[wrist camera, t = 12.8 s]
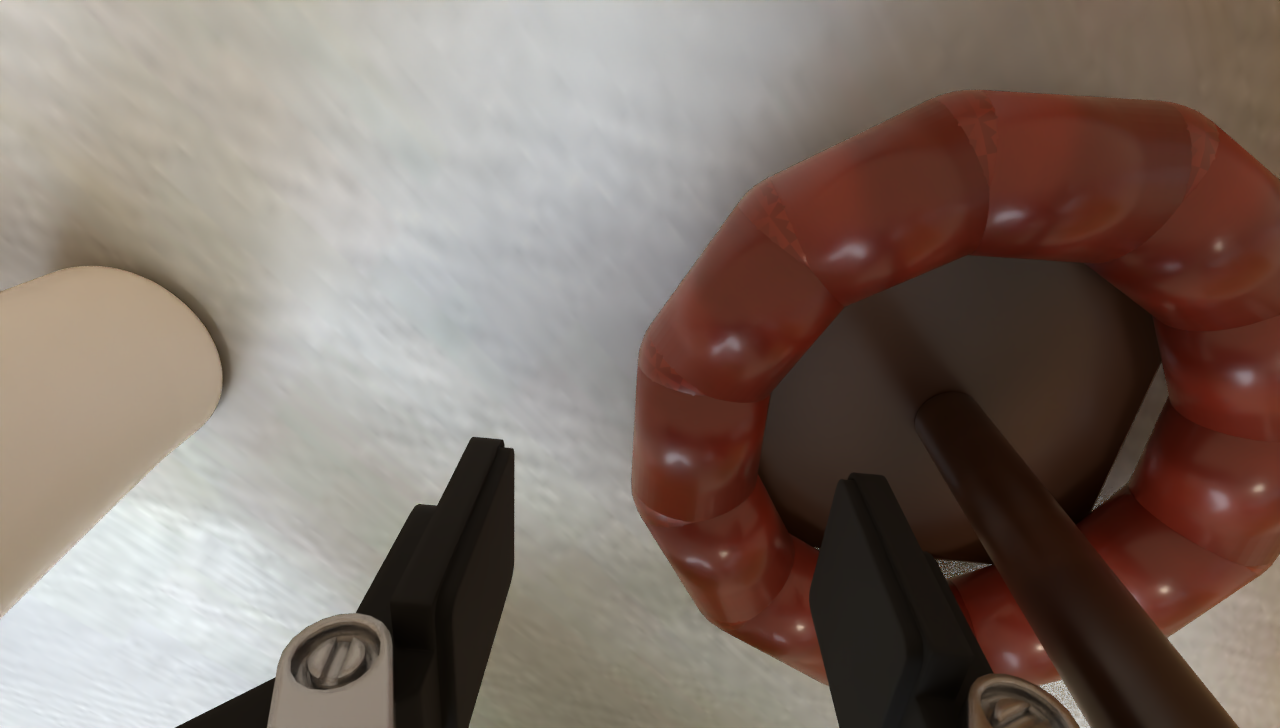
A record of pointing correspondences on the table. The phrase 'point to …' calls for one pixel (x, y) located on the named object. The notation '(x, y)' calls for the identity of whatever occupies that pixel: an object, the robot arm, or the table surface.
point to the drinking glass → (89, 405)
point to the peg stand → (995, 454)
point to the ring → (932, 237)
